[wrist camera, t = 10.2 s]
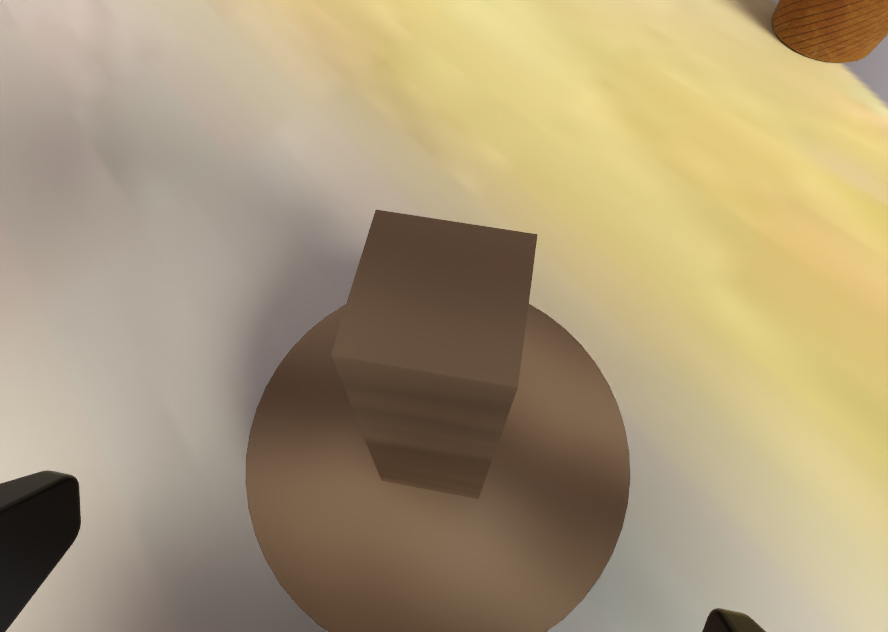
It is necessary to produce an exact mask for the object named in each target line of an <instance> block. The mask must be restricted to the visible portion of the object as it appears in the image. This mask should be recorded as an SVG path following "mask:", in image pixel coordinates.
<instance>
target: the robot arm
mask: <svg viewBox="0 0 888 632" xmlns="http://www.w3.org/2000/svg"><path fill="white" fill-rule="evenodd" d="M80 525H81V516H80V495H79V483H78V481H77V479H76V477H74V476H72V475H69V474H64V473H59V472H55V471H42V472H38V473H35V474H32V475H28V476H25V477H21V478H18V479H15V480H11V481H8V482H5V483H1V484H0V632H5V631H6V630H7V629H8V628H9V626H10V625H11V624H12V623H13V621H14V620H15V619H16V617H17V616H18V615H19V613H20V612H21V611H22V609H23V608H24V607H25V605H26V604H27V603H28V602H29V600H30V599H31V598H32V596H33V595H34V594H35V592H36V591H37V590H38V588H39V587H40V586H41V584H42V583H43V582H44V581H45V579H46V578H47V577H48V575H49V574H50V573H51V571H52V570H53V569H54V567H55V566H56V565H57V563H58V562H59V561H60V559H61V558H62V557H63V556H64V554H65V553H66V552H67V550H68V549H69V548H70V546H71V545H72V544H73V542H74V541H75V539H76V537H77V535H78V532H79V530H80ZM703 632H766V631H765V630H763V629H762V628H761V627H760V626H759V625H758V624H757V623H756V622H755V621H754V620H753V619H751V618H750V617H749V616H748V615H746V614H743V613H740V612H735V611H730V610H725V609H720V608H717V609H714V610H712V611H711V612H710V614H709V616H708V618H707V621H706V624H705V626H704V629H703Z"/></svg>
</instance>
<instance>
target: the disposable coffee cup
mask: <svg viewBox="0 0 888 632" xmlns="http://www.w3.org/2000/svg"><path fill="white" fill-rule="evenodd" d="M772 27H773V30H774V31H775V33H776V35H777V36H778V37H779V38H780V40H781V41H782V42H784V43H785V44H786V45H788V46H789V47H790V48H792V49H793V50H795V51H797V52H798V53H801V54H803V55H805V56H807V57H810V58H814V59H817V60H821V61H826V62H835V63H845V62H852V61H857V60H860V59H862V58H864V57H866V56H867V55H868V54H869V53H870V52H871V51H872V50H873V49H874V48H875V47H876V46H877V45H878V44H879V43H880V42H881V41H882V40H883V39H884V37H886V35H887V34H888V0H780V1H779V3H778V5H777V8H776V10H775V12H774V15H773V17H772Z"/></svg>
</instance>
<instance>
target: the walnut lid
mask: <svg viewBox="0 0 888 632" xmlns="http://www.w3.org/2000/svg"><path fill="white" fill-rule="evenodd" d="M536 241H537V234H531V233H524V232H518V231H511V230H505V229H498V228H492V227H485V226H478V225H472V224H465V223H459V222H452V221H446V220H439V219H433V218H426V217H420V216H413V215H407V214H400V213H393V212H387V211H380V210H376V211H375V214H374V217H373V220H372V224H371V227H370V230H369V233H368V237H367V240H366V243H365V246H364V250H363V253H362V256H361V259H360V263H359V266H358V269H357V272H356V276H355V279H354V282H353V285H352V288H351V292H350V295H349V298H348V301H347V304H346V305H344V306H343V307H341V308H340V309H338V310H337V311H335V312H333V313H332V314H330V315H329V316H327V317H326V318H324V319H323V320H322V321H321V322H319V323H318V324H317V325H316V326H314V327H313V328H312V329H311V330H310V331H308V332H307V333H306V334H305V335H304V336H303V337H302V338H301V340H300V341H299V342H298V343H297V344H296V345H295V346H294V347H293V348H292V349H291V350H290V352H289V353H288V354H287V356H286V357H285V358H284V360H283V361H282V362H281V363H280V365H279V366H278V368H277V369H276V371H275V373H274V375H273V376H272V378H271V380H270V381H269V383H268V385H267V386H266V389H265V391H264V393H263V396H262V398H261V400H260V403H259V405H258V407H257V410H256V413H255V417H254V420H253V424H252V427H251V431H250V436H249V442H248V449H247V455H246V489H247V498H248V507H249V512H250V516H251V520H252V523H253V527H254V531H255V535H256V537H257V540H258V542H259V545H260V547H261V549H262V552H263V554H264V557H265V559H266V561H267V563H268V564H269V566H270V568H271V569H272V571H273V573H274V574H275V576H276V578H277V580H278V581H279V583H280V584H281V585H282V587H283V588H284V589H285V590H286V592H287V593H288V594H289V595H290V597H291V598H292V599H293V600H294V602H295V603H296V604H297V605H298V606H299V607H300V608H301V609H302V610H303V611H304V612H305V613H306V614H308V615H309V616H310V617H311V618H312V619H313V620H314V621H315V622H316V623H317V624H318V625H320V626H321V627H323V628H324V629H326V630H327V631H329V632H546V631H548V630H549V629H550V628H552V627H553V626H555V625H556V624H557V623H559V622H560V621H561V620H563V619H564V618H565V617H566V616H567V615H568V614H569V613H570V612H571V611H572V610H573V609H574V608H575V607H576V606H577V605H578V604H579V603H580V602H581V601H582V600H583V599H584V597H585V596H586V595H587V593H588V592H589V591H590V589H591V588H592V587H593V585H594V584H595V583H596V581H597V580H598V579H599V577H600V575H601V574H602V572H603V570H604V568H605V566H606V564H607V563H608V561H609V559H610V557H611V555H612V554H613V551H614V548H615V546H616V543H617V540H618V538H619V535H620V532H621V530H622V526H623V522H624V517H625V513H626V509H627V504H628V495H629V484H630V464H629V449H628V444H627V438H626V432H625V427H624V424H623V421H622V417H621V414H620V411H619V408H618V405H617V402H616V400H615V398H614V396H613V394H612V391H611V389H610V387H609V385H608V383H607V381H606V379H605V378H604V376H603V374H602V373H601V371H600V370H599V368H598V366H597V365H596V363H595V362H594V361H593V359H592V358H591V357H590V355H589V354H588V353H587V352H586V350H585V349H584V348H583V347H582V345H581V344H580V343H579V342H578V341H577V340H576V339H575V338H574V337H573V336H572V335H571V334H570V333H569V332H568V331H567V330H566V329H564V328H563V327H562V326H561V325H559V324H558V323H557V322H556V321H554V320H553V319H552V318H550V317H549V316H548V315H546V314H545V313H543V312H541V311H540V310H538V309H537V308H535V307H533V306H532V305H530V304H529V296H530V288H531V280H532V272H533V264H534V256H535V248H536Z"/></svg>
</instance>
